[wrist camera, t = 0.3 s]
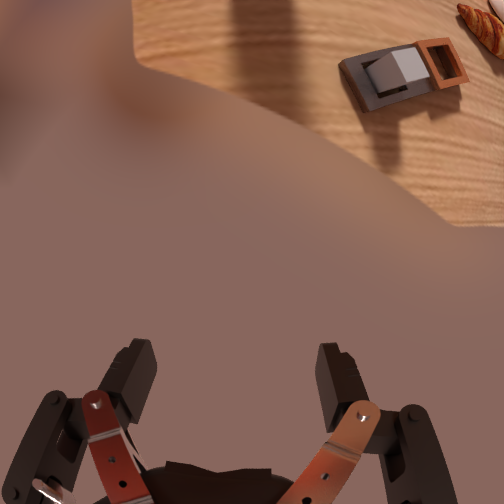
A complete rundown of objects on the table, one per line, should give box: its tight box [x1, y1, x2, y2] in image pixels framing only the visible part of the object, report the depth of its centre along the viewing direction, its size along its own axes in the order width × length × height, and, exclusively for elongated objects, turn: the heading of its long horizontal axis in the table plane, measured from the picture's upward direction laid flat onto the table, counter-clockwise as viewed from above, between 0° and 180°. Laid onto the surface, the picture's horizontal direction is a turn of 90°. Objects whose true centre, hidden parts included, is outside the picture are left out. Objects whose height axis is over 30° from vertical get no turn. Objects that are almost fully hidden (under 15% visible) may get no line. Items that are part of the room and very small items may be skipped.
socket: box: [338, 37, 470, 113], centre depth 28 cm, size 22×8×4 cm, turn 117°
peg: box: [364, 47, 430, 94], centre depth 26 cm, size 4×4×10 cm
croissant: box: [457, 3, 504, 59], centre depth 21 cm, size 21×10×8 cm, turn 78°
